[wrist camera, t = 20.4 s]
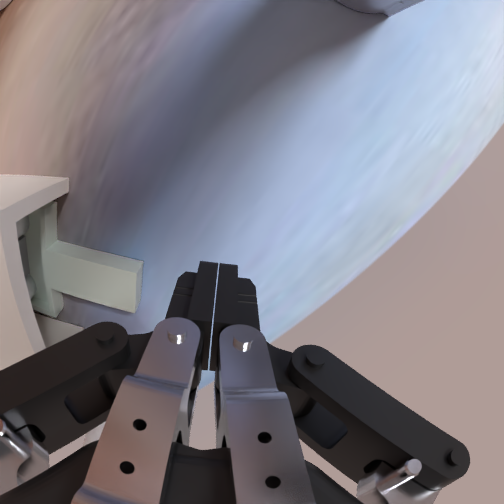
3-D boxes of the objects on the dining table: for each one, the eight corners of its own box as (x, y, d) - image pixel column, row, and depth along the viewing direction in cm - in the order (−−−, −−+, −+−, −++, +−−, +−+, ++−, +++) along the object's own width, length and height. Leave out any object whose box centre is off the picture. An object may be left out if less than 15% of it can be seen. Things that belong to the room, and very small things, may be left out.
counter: (69, 177, 22) (-2, 212, 12) (85, 335, 30) (56, 397, 20) (-18, 174, 19) (-76, 201, 9) (6, 309, 28) (-28, 354, 18)
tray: (148, 220, 25) (125, 249, 19) (139, 328, 30) (126, 367, 24) (-3, 189, 21) (-37, 206, 15) (8, 285, 26) (-16, 310, 20)
